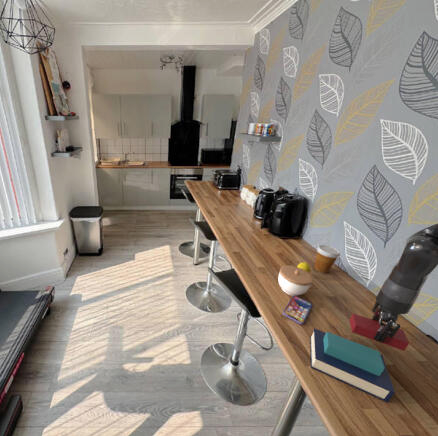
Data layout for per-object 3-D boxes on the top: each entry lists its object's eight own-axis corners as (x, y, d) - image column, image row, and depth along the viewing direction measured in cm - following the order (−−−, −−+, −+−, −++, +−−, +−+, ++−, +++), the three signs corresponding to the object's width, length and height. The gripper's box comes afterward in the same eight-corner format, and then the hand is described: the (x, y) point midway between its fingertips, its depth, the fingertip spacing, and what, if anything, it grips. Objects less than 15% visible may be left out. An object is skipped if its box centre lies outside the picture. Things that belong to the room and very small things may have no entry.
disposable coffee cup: (306, 265, 124) (313, 245, 120) (319, 262, 127) (326, 243, 122) (323, 276, 116) (331, 255, 111) (336, 273, 119) (345, 253, 114)
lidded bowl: (284, 300, 100) (292, 279, 95) (269, 281, 111) (275, 261, 107) (313, 300, 100) (322, 279, 96) (295, 281, 112) (302, 262, 107)
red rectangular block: (398, 337, 78) (403, 329, 77) (404, 351, 74) (409, 343, 72) (349, 320, 84) (352, 313, 83) (352, 332, 80) (355, 324, 78)
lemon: (296, 271, 119) (301, 258, 116) (309, 276, 115) (314, 263, 112) (292, 275, 116) (297, 262, 113) (305, 281, 112) (310, 267, 109)
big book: (376, 364, 75) (382, 354, 73) (387, 402, 65) (395, 392, 63) (309, 337, 83) (314, 328, 81) (310, 367, 73) (315, 358, 71)
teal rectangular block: (374, 359, 71) (379, 351, 70) (379, 376, 67) (384, 368, 65) (323, 339, 77) (326, 331, 76) (324, 353, 73) (328, 345, 71)
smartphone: (312, 305, 97) (302, 325, 88) (293, 296, 102) (281, 314, 92) (313, 304, 97) (303, 324, 87) (294, 294, 102) (282, 312, 92)
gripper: (424, 314, 65) (397, 355, 71) (406, 285, 76) (384, 323, 83) (388, 303, 68) (365, 344, 75) (376, 277, 80) (357, 314, 86)
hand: (375, 333), depth 79 cm, fingers closed on red rectangular block, 6 cm apart
